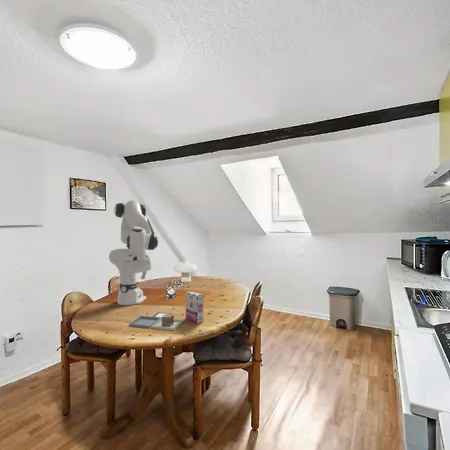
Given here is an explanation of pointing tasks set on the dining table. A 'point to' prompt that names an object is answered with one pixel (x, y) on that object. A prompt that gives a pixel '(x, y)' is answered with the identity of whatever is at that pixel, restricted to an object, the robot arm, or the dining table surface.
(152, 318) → the tray
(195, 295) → the candy bar box
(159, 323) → the tray
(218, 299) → the dining table surface
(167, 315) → the letter cube
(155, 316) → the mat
